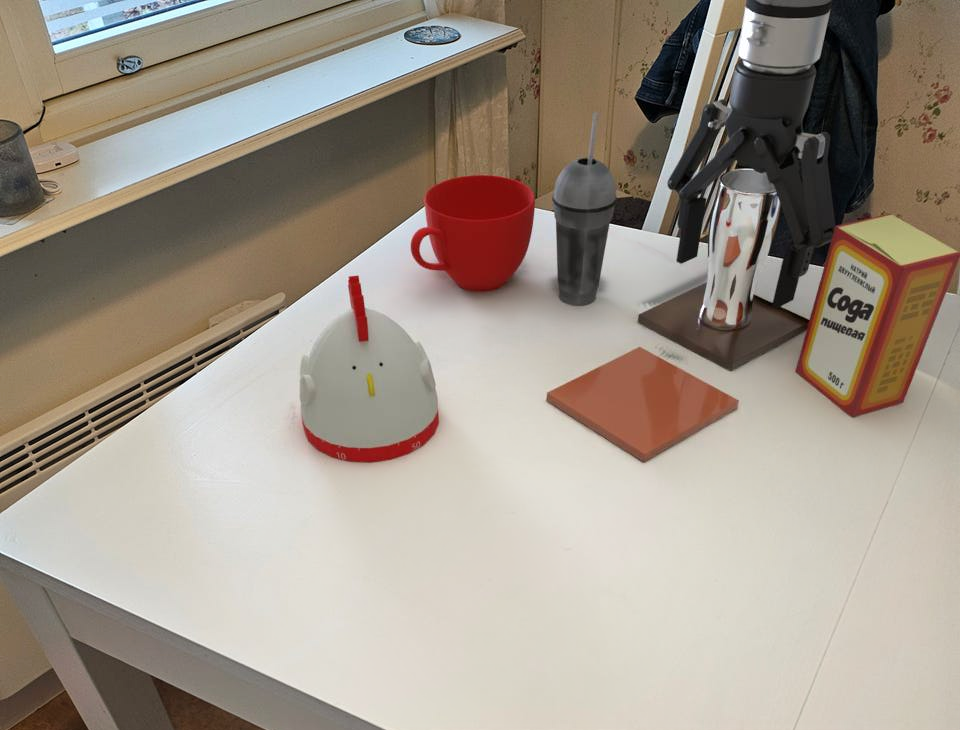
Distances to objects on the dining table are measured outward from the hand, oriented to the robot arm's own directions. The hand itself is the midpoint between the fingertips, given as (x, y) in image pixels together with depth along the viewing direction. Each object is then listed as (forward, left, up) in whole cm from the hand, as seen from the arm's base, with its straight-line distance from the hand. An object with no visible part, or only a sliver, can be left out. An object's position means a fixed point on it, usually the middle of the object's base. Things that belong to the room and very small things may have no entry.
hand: (732, 280), depth 100 cm
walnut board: (0, 0, -5) cm, 5 cm away
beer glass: (0, 0, -5) cm, 5 cm away
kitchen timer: (+11, +42, -6) cm, 44 cm away
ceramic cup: (+27, +16, -6) cm, 32 cm away
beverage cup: (+16, +8, -6) cm, 19 cm away
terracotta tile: (-5, +19, -5) cm, 20 cm away
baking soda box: (-17, 0, -6) cm, 18 cm away
